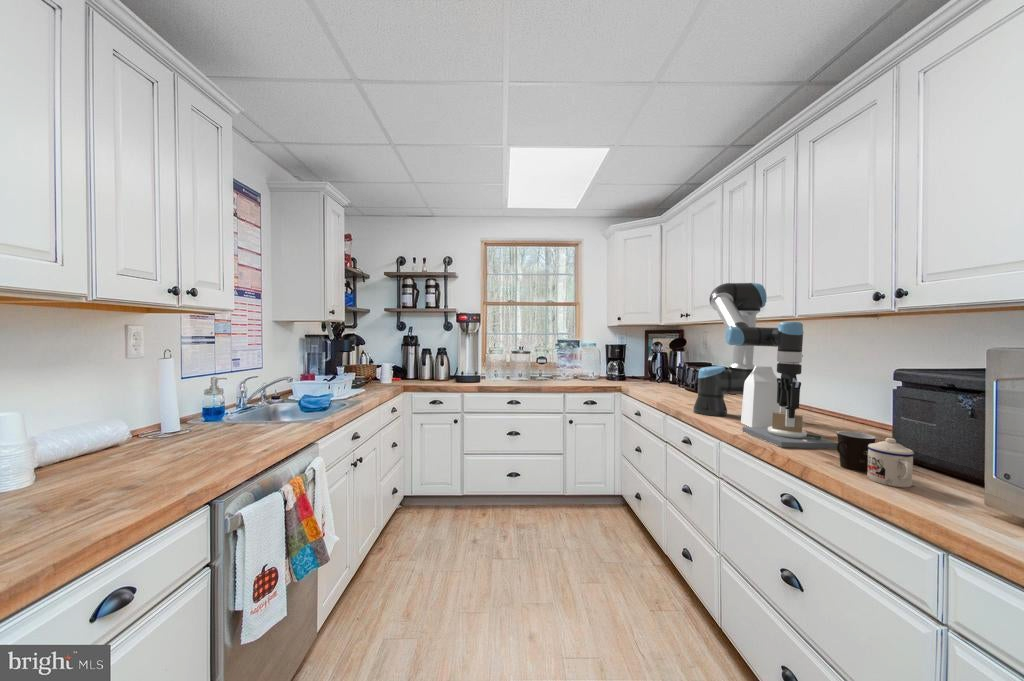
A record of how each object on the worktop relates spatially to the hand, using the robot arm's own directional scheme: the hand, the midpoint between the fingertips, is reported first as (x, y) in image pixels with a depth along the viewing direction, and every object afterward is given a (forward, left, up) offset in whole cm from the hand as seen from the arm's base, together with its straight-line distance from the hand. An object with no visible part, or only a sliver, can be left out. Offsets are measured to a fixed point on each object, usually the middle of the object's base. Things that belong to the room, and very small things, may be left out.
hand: (786, 425), depth 146 cm
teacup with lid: (+43, -3, -6) cm, 44 cm away
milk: (-22, +5, -6) cm, 23 cm away
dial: (+2, +2, -3) cm, 4 cm away
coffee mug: (+31, -4, -6) cm, 32 cm away
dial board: (0, 0, -6) cm, 6 cm away
